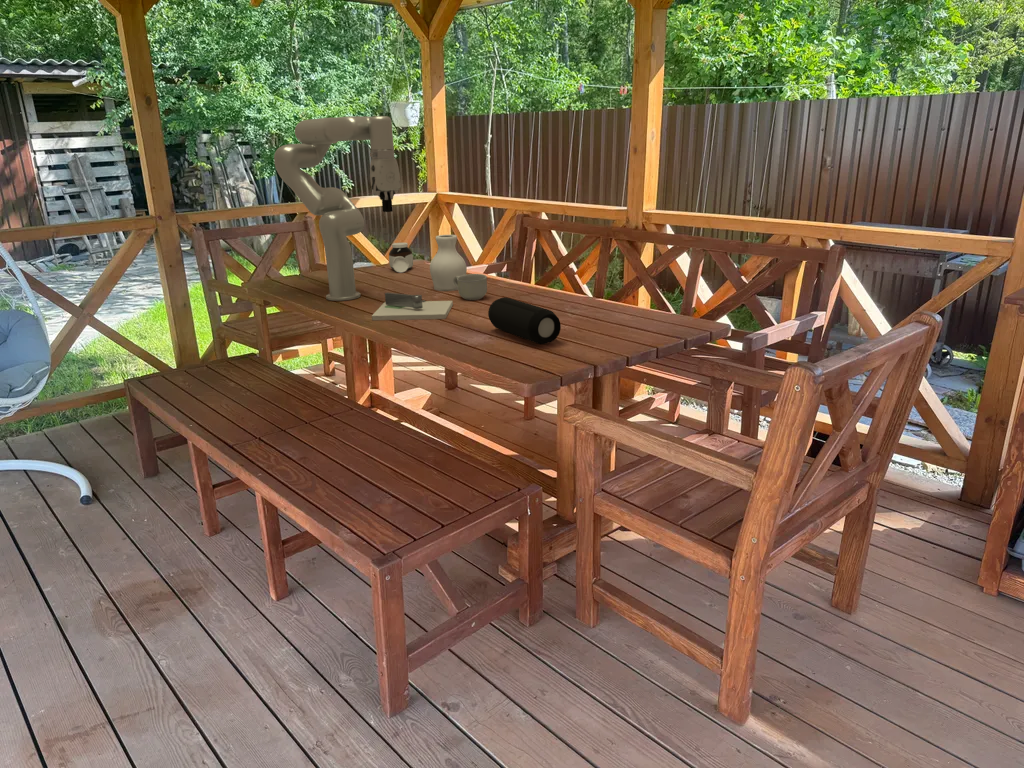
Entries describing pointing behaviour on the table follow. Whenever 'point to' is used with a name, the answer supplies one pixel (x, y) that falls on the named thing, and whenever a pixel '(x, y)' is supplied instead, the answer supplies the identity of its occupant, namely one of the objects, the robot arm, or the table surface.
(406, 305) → the grey rectangular bar
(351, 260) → the robot arm
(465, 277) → the teacup
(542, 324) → the portable speaker
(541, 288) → the table surface
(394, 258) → the spread jar
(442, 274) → the vase
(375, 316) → the dial board
